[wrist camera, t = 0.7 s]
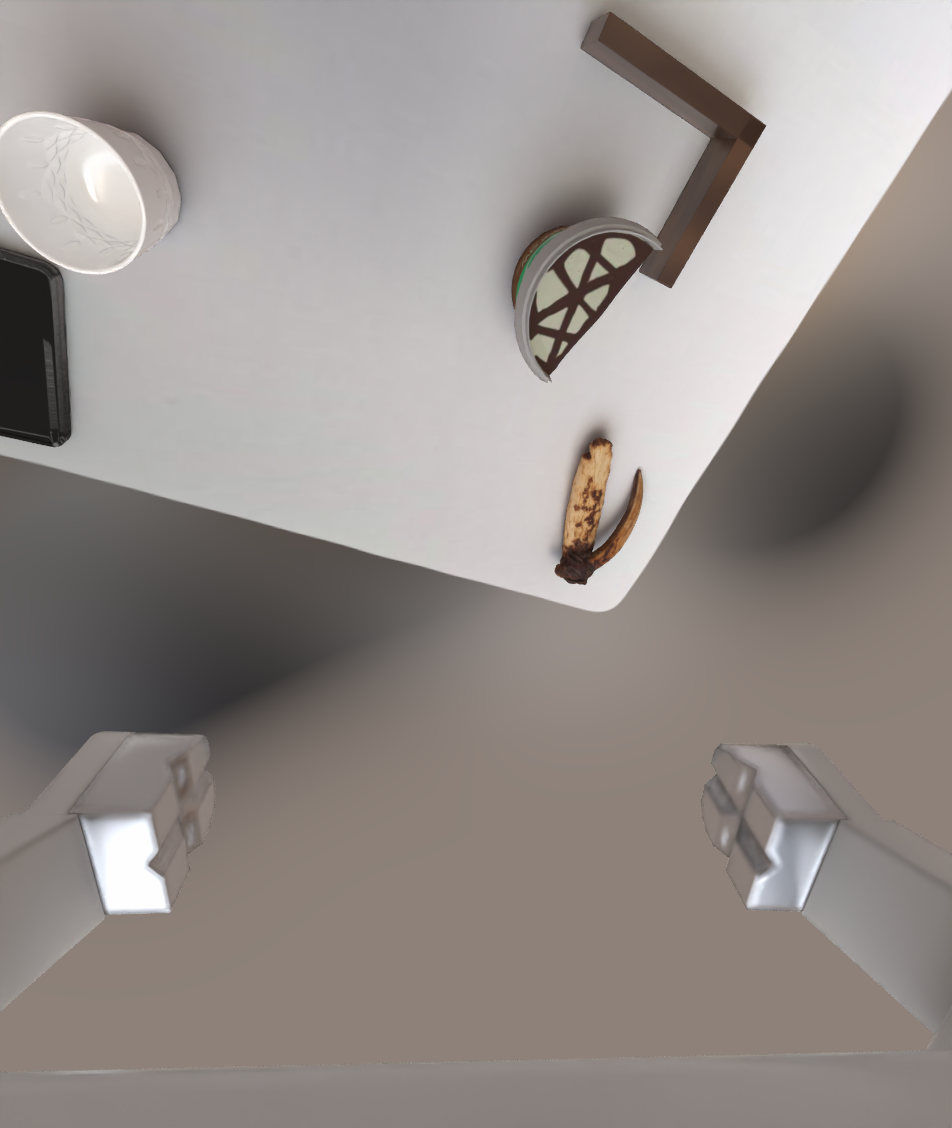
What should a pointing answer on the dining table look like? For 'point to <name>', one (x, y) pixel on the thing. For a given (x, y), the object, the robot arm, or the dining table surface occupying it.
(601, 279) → the food container
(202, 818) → the robot arm
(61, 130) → the white cup
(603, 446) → the lashed bone hook
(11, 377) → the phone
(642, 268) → the corner guide
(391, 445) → the dining table surface
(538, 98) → the dining table surface
